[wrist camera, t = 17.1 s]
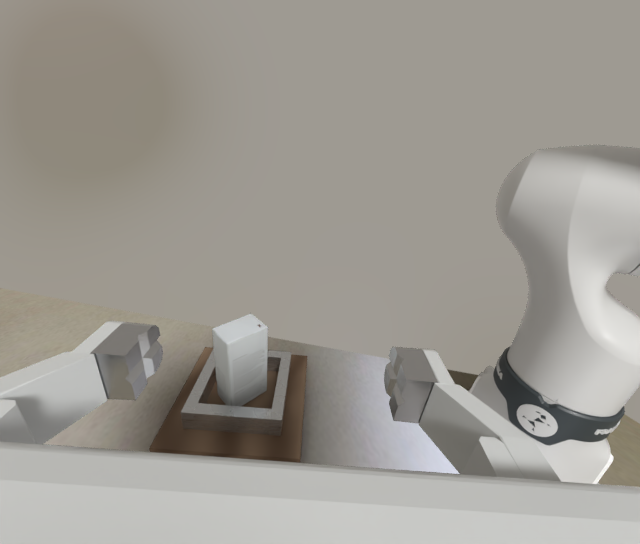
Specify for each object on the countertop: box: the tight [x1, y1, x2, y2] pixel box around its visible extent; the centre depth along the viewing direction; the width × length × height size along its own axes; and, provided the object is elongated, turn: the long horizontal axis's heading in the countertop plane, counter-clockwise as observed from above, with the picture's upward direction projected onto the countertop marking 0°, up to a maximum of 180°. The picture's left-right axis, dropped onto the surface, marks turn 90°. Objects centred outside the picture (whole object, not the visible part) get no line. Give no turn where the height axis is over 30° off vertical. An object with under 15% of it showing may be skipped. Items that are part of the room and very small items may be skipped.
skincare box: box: [212, 314, 268, 406], centre depth 40 cm, size 6×4×12 cm
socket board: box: [150, 347, 307, 463], centre depth 42 cm, size 18×18×4 cm
